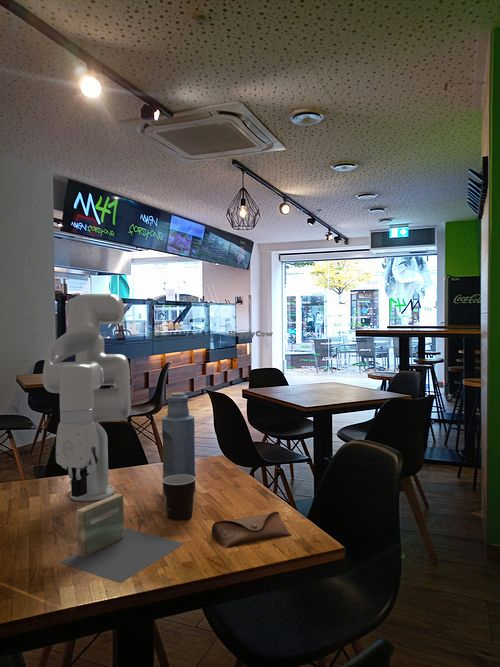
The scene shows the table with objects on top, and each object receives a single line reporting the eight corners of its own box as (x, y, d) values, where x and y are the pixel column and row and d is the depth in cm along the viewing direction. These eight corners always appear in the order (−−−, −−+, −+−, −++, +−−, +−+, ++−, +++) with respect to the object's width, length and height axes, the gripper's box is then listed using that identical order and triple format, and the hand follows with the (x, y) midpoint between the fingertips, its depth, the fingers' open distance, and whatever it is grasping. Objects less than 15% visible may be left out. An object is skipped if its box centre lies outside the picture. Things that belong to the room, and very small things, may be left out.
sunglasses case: (223, 549, 113) (217, 518, 116) (214, 554, 119) (209, 524, 122) (294, 534, 120) (287, 506, 123) (283, 539, 126) (276, 512, 129)
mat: (59, 563, 108) (59, 562, 108) (127, 529, 125) (127, 528, 125) (120, 585, 98) (120, 583, 98) (184, 545, 116) (184, 543, 116)
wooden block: (77, 555, 111) (76, 510, 110) (118, 535, 121) (117, 493, 121) (85, 557, 109) (84, 512, 109) (125, 537, 120) (124, 495, 119)
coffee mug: (190, 524, 127) (189, 485, 127) (158, 522, 129) (157, 483, 129) (203, 507, 139) (202, 471, 138) (173, 506, 140) (173, 470, 140)
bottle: (157, 491, 153) (154, 393, 152) (185, 484, 159) (183, 389, 158) (172, 500, 145) (170, 396, 144) (201, 492, 151) (199, 393, 150)
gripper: (42, 417, 119) (44, 495, 119) (86, 421, 111) (88, 504, 111) (69, 412, 125) (70, 486, 125) (112, 416, 117) (114, 495, 117)
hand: (79, 494), depth 118 cm, fingers closed
